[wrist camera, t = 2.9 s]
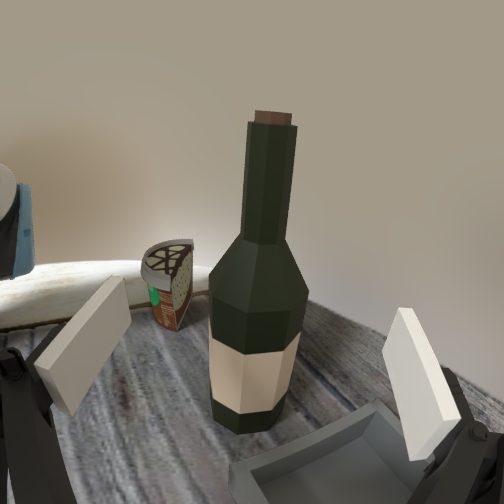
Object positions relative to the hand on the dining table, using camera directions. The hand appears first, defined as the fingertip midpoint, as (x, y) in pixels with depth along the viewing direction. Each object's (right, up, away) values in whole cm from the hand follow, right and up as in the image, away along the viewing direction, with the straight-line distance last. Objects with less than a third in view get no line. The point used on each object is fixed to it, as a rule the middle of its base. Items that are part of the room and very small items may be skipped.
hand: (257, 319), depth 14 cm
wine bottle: (-1, -15, +19) cm, 24 cm away
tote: (+9, -22, +5) cm, 24 cm away
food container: (-14, -6, +34) cm, 37 cm away
